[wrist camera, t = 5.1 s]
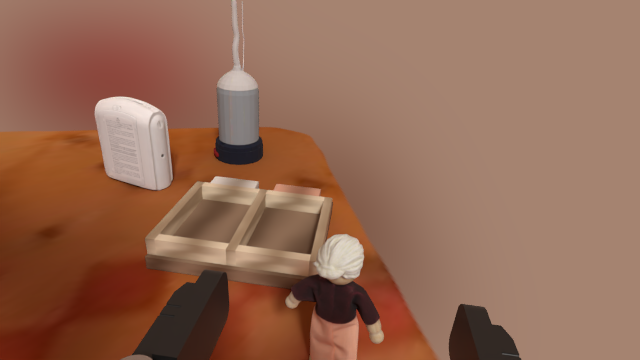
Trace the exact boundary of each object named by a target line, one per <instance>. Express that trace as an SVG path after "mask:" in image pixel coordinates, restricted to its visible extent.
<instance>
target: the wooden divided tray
mask: <svg viewBox="0 0 640 360" xmlns="http://www.w3.org/2000/svg"><path fill="white" fill-rule="evenodd" d="M320 193H321V189H315V188H307V187H299V186H290V185H282V184H276V186H275V188H274V190H273V191H271V190H263V189H259V182H258V181H250V180H241V179H233V178H225V177H217V176H216V177H215V178H214V179H213V180H212V181H211V183H207V182H199V181H197V182H196V183H195V184H194V186H193V187H192V188H191V189H190V190H189V191H188V192H187V193H186V194H185V195H184V196H183V197H182V199H181V200H180V201H179V202H178V203H177V204H176V205H175V206H174V207H173V208H172V209H171V210H170V212H169V213H168V214H167V215H166V216H165V217H164V218H163V219H162V220H161V221H160V222H159V223H158V225H157V226H156V227H155V228H154V229H153V230H152V231H151V232H150V233H149V234H148V235H147V236H146V238H145V242H146V248H147V255H146V256H145V260H146V266H147V268H149V269H155V270H162V271H169V272H176V273H183V274H190V275H197V276H200V275H201V273H202V272H203V271H204V270H214V271H221V272H226V273H227V278H228V280H231V281H238V282H245V283H252V284H259V285H266V286H273V287H280V288H287V289H291V288H292V286H293V285H295V284H296V283H298V282H299V281H301V280H302V279H304V278H306V277H309V276H311V275H316V274H318V273H317V271H316V266H315V265H314V264H313V263H314V262H316V256H317V254H318V250H319V249H320V247H321V246H322V245H323V244H324V243H325V242H326V240H327V235H328V229H329V224H330V219H331V214H332V206H333V202H332V198H328V197H320Z"/></svg>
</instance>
